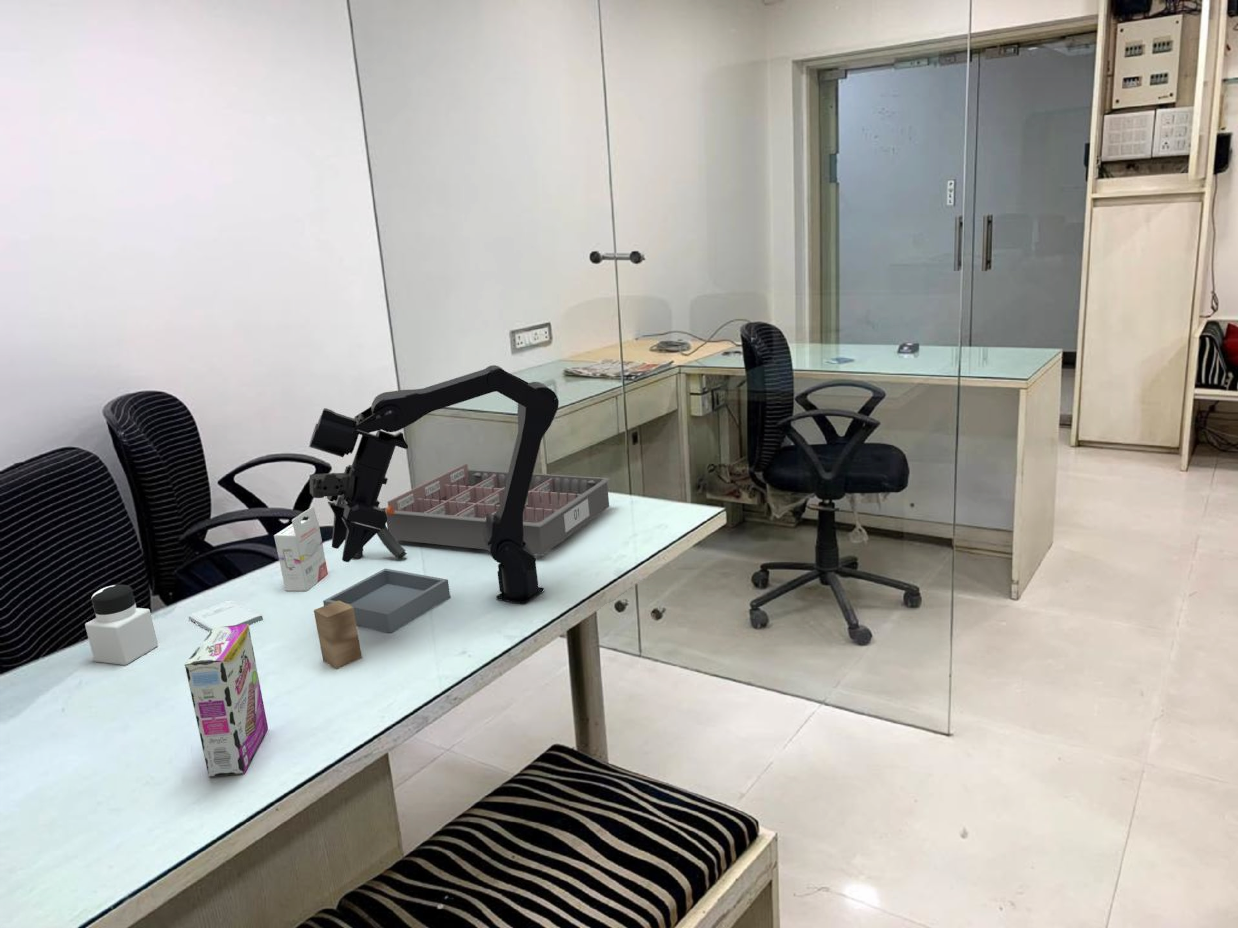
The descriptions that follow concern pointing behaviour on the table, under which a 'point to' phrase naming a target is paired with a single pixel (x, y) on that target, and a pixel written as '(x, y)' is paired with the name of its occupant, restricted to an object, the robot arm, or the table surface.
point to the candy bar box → (227, 699)
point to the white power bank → (225, 616)
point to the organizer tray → (495, 508)
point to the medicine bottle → (119, 627)
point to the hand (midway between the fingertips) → (339, 554)
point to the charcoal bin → (392, 598)
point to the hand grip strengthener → (387, 539)
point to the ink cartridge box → (301, 552)
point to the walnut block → (338, 634)
